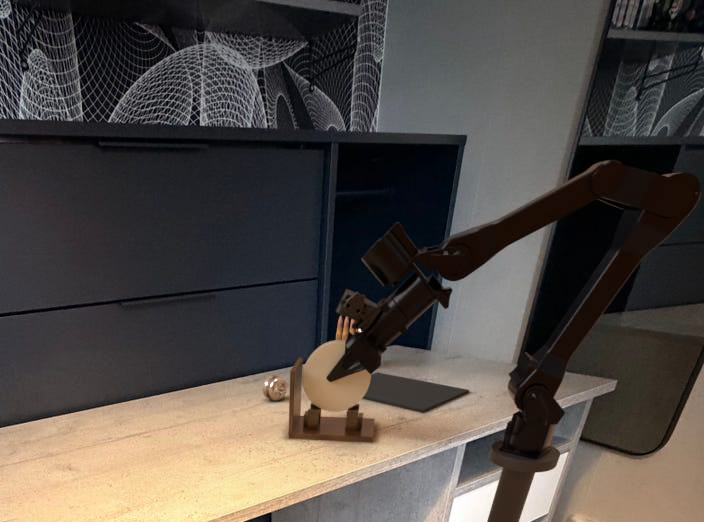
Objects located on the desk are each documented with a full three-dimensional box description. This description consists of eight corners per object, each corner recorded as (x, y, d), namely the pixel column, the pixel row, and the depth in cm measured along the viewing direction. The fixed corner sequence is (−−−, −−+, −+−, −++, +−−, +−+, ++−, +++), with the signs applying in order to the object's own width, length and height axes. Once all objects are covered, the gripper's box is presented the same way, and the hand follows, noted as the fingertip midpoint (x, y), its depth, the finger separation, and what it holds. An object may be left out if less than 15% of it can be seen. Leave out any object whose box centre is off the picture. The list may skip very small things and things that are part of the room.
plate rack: (374, 423, 99) (382, 358, 92) (372, 442, 91) (381, 372, 84) (296, 420, 102) (298, 357, 95) (288, 438, 95) (290, 371, 88)
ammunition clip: (332, 365, 137) (335, 315, 130) (335, 363, 138) (338, 314, 131) (369, 369, 131) (375, 318, 124) (372, 367, 132) (378, 316, 125)
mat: (468, 392, 111) (469, 389, 111) (423, 412, 102) (423, 409, 102) (377, 374, 127) (377, 372, 126) (330, 390, 118) (330, 388, 117)
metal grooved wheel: (279, 396, 116) (279, 373, 113) (288, 398, 114) (288, 375, 111) (262, 400, 114) (262, 377, 111) (271, 403, 112) (272, 380, 109)
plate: (366, 410, 94) (375, 340, 87) (366, 413, 92) (375, 342, 85) (302, 407, 96) (305, 339, 89) (300, 410, 95) (303, 341, 88)
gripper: (371, 264, 88) (305, 334, 97) (366, 276, 73) (289, 357, 82) (412, 313, 90) (343, 377, 99) (415, 335, 76) (335, 407, 85)
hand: (328, 378), depth 91 cm, fingers closed on plate, 2 cm apart
